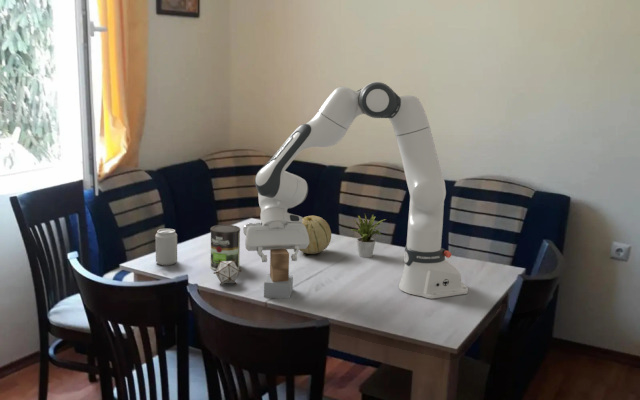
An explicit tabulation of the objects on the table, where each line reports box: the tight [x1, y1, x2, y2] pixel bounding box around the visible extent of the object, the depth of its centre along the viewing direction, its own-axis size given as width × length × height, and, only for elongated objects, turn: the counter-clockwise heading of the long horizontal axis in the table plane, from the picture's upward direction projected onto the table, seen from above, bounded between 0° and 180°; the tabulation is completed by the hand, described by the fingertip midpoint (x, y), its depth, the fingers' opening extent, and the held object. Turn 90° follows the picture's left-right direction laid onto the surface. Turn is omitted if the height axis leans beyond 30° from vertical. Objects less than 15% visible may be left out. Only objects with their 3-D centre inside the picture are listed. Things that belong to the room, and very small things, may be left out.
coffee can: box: [209, 224, 241, 271], centre depth 224 cm, size 10×10×14 cm
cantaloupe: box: [299, 215, 332, 255], centre depth 243 cm, size 15×15×15 cm
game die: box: [213, 258, 242, 286], centre depth 208 cm, size 9×8×10 cm
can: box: [155, 228, 178, 266], centre depth 226 cm, size 8×8×12 cm
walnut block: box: [269, 249, 290, 282], centre depth 200 cm, size 5×5×9 cm
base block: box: [263, 273, 294, 299], centre depth 202 cm, size 8×8×5 cm
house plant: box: [351, 214, 387, 258], centre depth 242 cm, size 14×14×16 cm
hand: (279, 260), depth 199 cm, fingers open, 8 cm apart
